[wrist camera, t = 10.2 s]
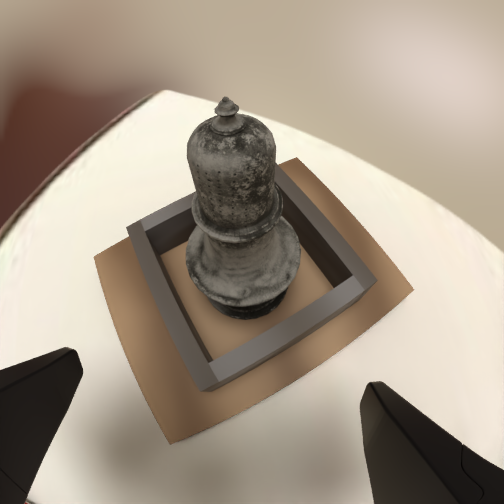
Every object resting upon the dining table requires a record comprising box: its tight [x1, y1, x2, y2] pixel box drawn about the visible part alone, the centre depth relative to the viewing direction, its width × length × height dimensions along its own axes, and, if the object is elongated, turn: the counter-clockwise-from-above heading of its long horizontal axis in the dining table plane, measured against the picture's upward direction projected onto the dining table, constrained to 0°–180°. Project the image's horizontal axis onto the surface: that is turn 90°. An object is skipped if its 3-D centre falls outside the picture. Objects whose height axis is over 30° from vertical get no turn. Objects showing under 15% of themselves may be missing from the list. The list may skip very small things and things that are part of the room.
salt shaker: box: [186, 97, 301, 320], centre depth 12 cm, size 6×6×12 cm
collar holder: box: [94, 157, 414, 444], centre depth 17 cm, size 18×14×4 cm
